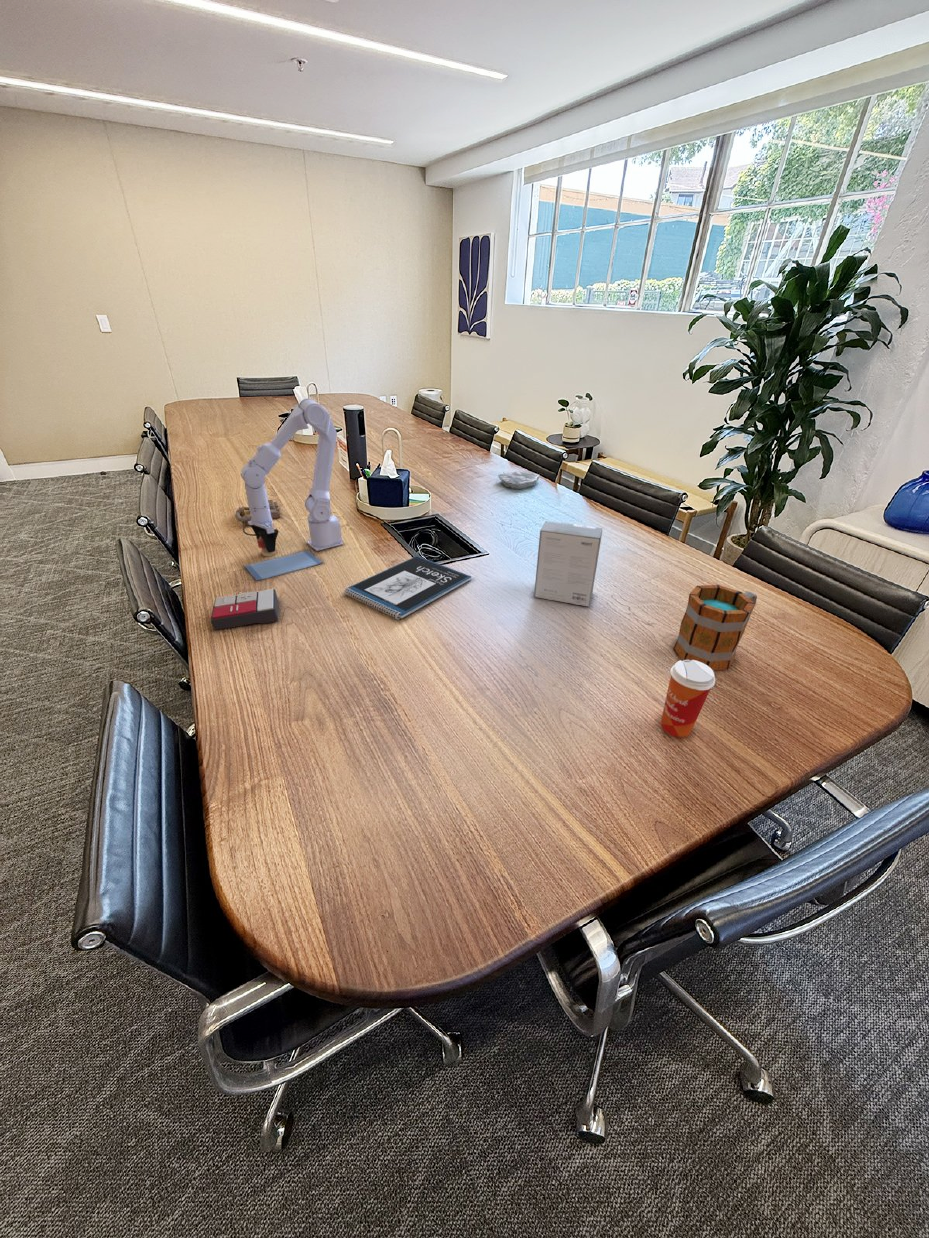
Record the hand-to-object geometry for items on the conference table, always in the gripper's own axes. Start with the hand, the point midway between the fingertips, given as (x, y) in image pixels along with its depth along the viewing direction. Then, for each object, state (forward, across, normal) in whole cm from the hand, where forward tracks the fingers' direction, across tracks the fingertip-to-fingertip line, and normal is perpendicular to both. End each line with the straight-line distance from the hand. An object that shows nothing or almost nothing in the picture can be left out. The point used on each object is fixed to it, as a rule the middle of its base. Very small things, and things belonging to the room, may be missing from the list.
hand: (267, 547), depth 160 cm
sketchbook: (+2, +44, +25) cm, 51 cm away
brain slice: (+2, -10, +115) cm, 115 cm away
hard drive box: (+2, +73, +57) cm, 93 cm away
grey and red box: (+2, +33, -17) cm, 37 cm away
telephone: (+2, -30, +7) cm, 31 cm away
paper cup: (+2, +122, +37) cm, 128 cm away
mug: (+2, +112, +67) cm, 131 cm away
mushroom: (+2, 0, 0) cm, 2 cm away
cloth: (+2, +10, +1) cm, 11 cm away
